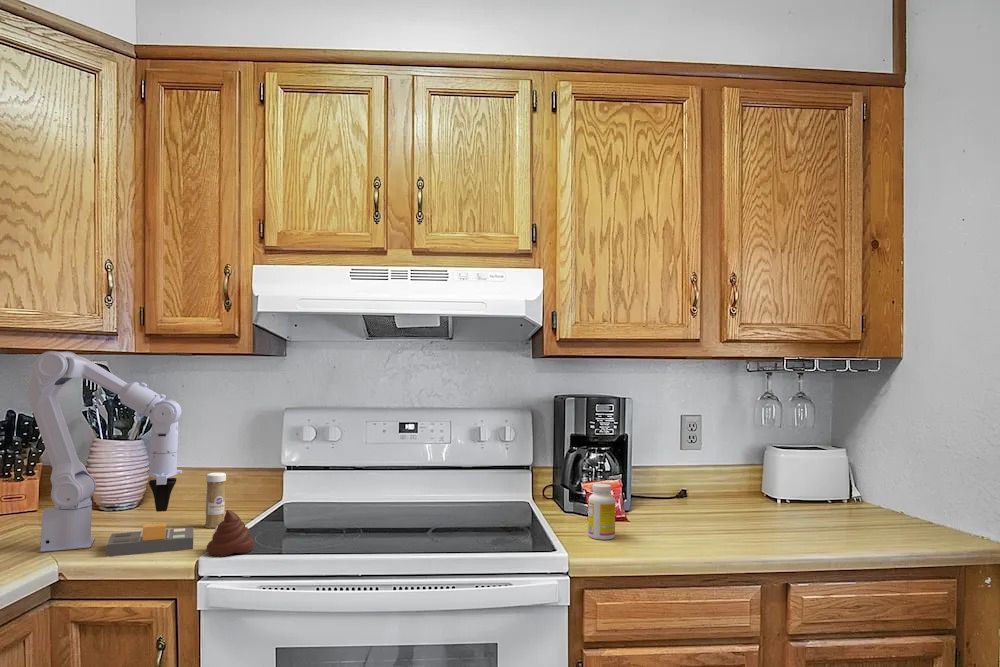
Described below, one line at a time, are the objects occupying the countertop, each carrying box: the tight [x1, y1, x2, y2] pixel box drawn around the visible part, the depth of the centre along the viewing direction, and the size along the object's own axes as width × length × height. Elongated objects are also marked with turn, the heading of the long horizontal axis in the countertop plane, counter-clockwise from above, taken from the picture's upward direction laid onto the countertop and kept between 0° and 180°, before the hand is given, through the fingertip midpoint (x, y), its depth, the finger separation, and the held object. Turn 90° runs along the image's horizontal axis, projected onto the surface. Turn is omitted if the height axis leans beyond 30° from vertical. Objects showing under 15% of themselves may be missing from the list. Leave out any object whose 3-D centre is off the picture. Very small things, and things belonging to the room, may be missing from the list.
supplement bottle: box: [587, 483, 616, 541], centre depth 171 cm, size 7×7×13 cm
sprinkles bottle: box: [204, 472, 227, 529], centre depth 174 cm, size 5×5×14 cm
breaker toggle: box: [142, 522, 167, 541], centre depth 153 cm, size 4×3×3 cm
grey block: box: [105, 527, 194, 557], centre depth 155 cm, size 17×10×3 cm, turn 114°
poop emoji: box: [206, 509, 255, 557], centre depth 153 cm, size 10×8×9 cm
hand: (161, 510), depth 159 cm, fingers closed
